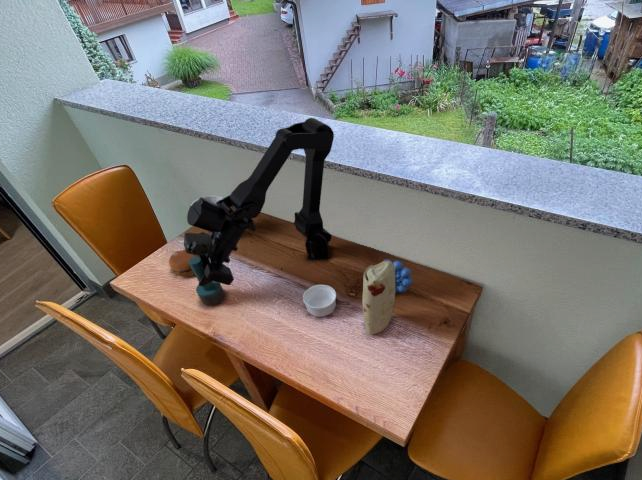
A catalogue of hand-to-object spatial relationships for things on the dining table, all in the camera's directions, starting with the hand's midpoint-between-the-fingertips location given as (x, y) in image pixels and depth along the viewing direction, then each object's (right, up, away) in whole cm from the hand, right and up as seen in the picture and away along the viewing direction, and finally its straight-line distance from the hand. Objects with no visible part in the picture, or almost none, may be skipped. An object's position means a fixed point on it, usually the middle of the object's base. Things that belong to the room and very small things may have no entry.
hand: (199, 281), depth 93 cm
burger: (-11, +5, +15) cm, 19 cm away
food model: (+48, -12, -2) cm, 50 cm away
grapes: (+53, -2, +7) cm, 53 cm away
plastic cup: (-6, +18, +27) cm, 33 cm away
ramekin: (+33, -7, +3) cm, 33 cm away
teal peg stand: (+1, -4, +6) cm, 7 cm away
